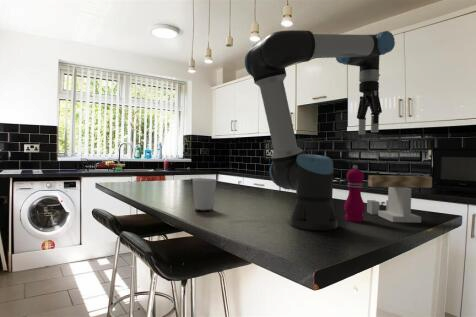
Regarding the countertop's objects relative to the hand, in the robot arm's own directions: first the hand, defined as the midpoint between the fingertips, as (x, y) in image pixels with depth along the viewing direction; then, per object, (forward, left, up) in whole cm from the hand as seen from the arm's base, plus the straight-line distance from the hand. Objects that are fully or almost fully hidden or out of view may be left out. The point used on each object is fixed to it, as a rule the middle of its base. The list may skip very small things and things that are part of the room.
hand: (367, 133), depth 133 cm
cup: (-67, -3, -33) cm, 75 cm away
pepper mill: (-11, -18, -33) cm, 39 cm away
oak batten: (+7, -14, -21) cm, 26 cm away
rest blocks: (+6, -3, -33) cm, 33 cm away
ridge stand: (+7, -14, -33) cm, 36 cm away
